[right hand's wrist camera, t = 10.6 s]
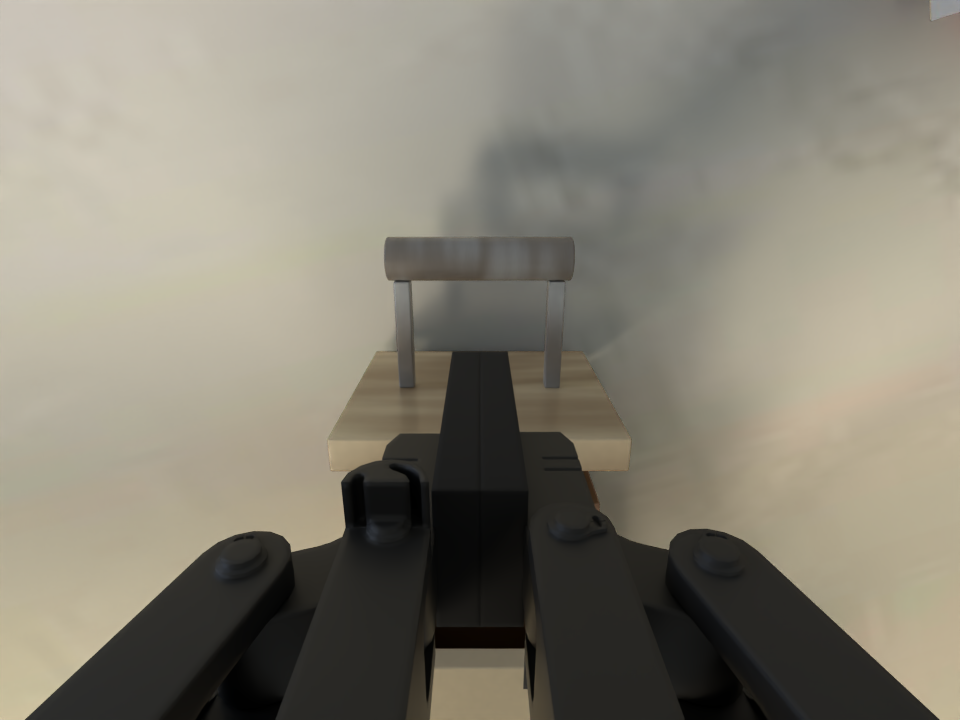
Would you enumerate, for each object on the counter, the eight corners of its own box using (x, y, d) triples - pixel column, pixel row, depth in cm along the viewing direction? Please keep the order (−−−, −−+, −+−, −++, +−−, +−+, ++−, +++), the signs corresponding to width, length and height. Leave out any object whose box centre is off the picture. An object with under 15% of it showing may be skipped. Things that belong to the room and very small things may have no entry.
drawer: (367, 225, 23) (305, 256, 15) (591, 225, 23) (652, 256, 15) (397, 650, 32) (368, 820, 23) (562, 650, 32) (591, 819, 23)
